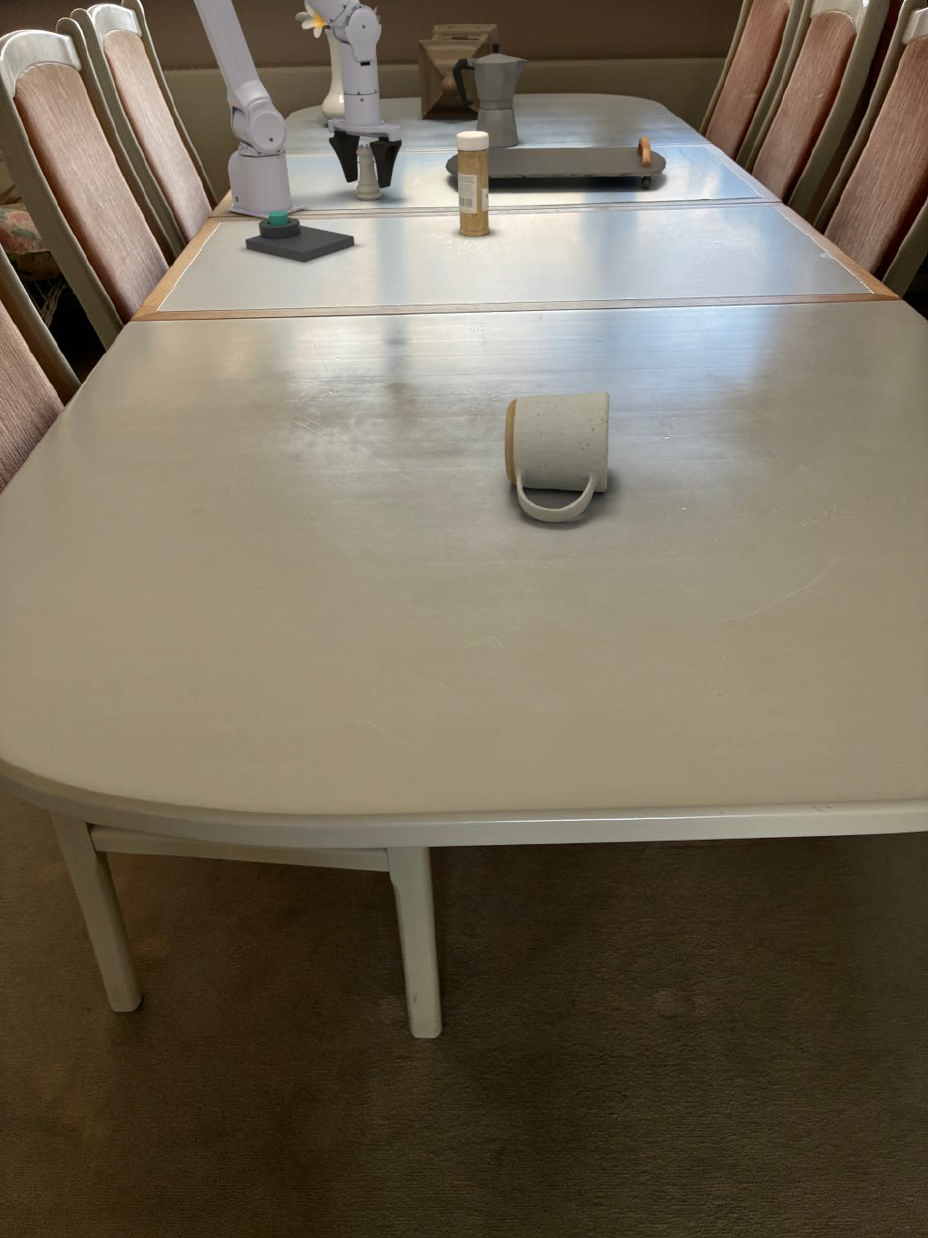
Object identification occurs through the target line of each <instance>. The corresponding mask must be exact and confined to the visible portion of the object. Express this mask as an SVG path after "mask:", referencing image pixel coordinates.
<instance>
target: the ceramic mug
mask: <svg viewBox="0 0 928 1238" xmlns="http://www.w3.org/2000/svg"><path fill="white" fill-rule="evenodd" d="M609 410H610V394H609V393H608V392H607V391H595V392H583V393H582V392H580V393H564V394H538V395H536V394H535V395H527V396H523V397H519V398H515V399H513V400H511V402H509V404H508V406H507V409H506V415H505V425H504V426H505V428H504V463H505V465H504V466H505V474H506V476H507V479H508V481H509V482H510V483H511V484H512V485H515V486H516V493H517V498H518V502H519V505H520V506H521V509H522V510H523V511H524V513H526V514H527V515H528V516H530V517H532V518H533V519H536V520H538V521H542V522H545V523H563V522H568V521H570V520H573V519H575V518H576V517H578V516H580V515H582V513H583V512H584V511H585V510H586V508H587V507H588V506H589V503H590V501H592V497H593V495H594V493H603V492H606V491H607V486H608V463H609V424H610V423H609V415H610V413H609V412H610V411H609ZM524 488H527V489H543V490H544V489H545V490H549V489H550V490H562V491H563V490H564V491H574V492H575V491H577V492H582V494H581V495H580V496H579V497H578V498H577V499H575V501H573V502H570V504H568V505H566V506H563V507H561V508H548V507H547V508H546V507H542V506H540V505H538V504H535V503H534V502H533V501H531V500H529V499H528V497H527V496H526V494H525V492H524V490H523V489H524Z"/></svg>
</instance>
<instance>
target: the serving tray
mask: <svg viewBox="0 0 928 1238" xmlns="http://www.w3.org/2000/svg"><path fill="white" fill-rule="evenodd" d="M487 149H488V151H487V163H488V165H487V166H488V179H521V178H522V179H524V178H525V179H526V178H527V179H528V178H529V179H530V178H531V179H532V178H536V179H537V178H538V179H539V178H615V177H616V178H619V177H621V178H623V177H625V178H626V177H641V178H640V182H639V184H640V186H641V189H642V190H650V189H651V187H652V186H653V185H654V178H653V177H654V176H657V175H659V174H661V173H662V172H663V171H664V170H665V169H666V166H667V160H666V158H665V157H664V156H663V155H661V154H660V153H659V152H657V151H654V150H651V142H650V139H649V137H647V136H641V137H639V139H638V144H637V146H594V147H593V146H588V147H527V148H525V147H515V148H512V147H509V148H487ZM444 168H445V170H446V171H447V172H448V173H449V174H450V175H452V176H454V177H455V178H457V179H458V153H456V154H454V155H453V156H451V157H450V158H448V159H447V161H446V163H445V167H444Z"/></svg>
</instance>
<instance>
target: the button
mask: <svg viewBox="0 0 928 1238" xmlns="http://www.w3.org/2000/svg"><path fill="white" fill-rule="evenodd" d="M288 217H289V213H287V212H284V211H275V212H271V213H269V214H268V218H269V225H285V224H288V223H289V219H288Z"/></svg>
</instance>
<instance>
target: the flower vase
mask: <svg viewBox="0 0 928 1238" xmlns="http://www.w3.org/2000/svg"><path fill="white" fill-rule="evenodd" d="M358 1H359V2H358V3H359V4H361V2H360V0H358ZM303 6H304V9H305V11H301V12H298V13H296V15H295V16H294V19H295V20H296V21H298V22H302V23H301V28H302V31H303V32H307V31H308V30H310V29H313V35H314V37H315V38H316V39H318V38H320V36H321V35H322V30H323V27H324V26H325V27H326V28H325V29H324V33H325V34H326V37H327V42H328V47H329V52H330V65H331V83H330V87H329V90H328V91H329V92H328V93H327V94H326V97H325V98H324V99H323V102H322V103H321V113H322V116H323V117H324V118H325V119H326V120H327V121H328V120H333V119H345V107H344V96H343V84H342V73H341V62H340V47H339V42H340V41H339V40H337V39H335V38H334V36H333V34H332V31H331V26H329V25H328V24H327V23H326V22H325V21H324V20H323V19H322V18H321V17H320V16H319V15H318V14H317V12H316V11H315V10H314V9H313V8H312V7H311V6H310V5H309V4H308V3H307V2H306V1H305V0H303ZM378 7H379V6H378V5H376V6H375V8H374V10H373V11H374V12H375V14H376V16H377V21H378V23H379V24H380V20H381V15H379V14H378V15H377V12H378Z"/></svg>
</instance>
